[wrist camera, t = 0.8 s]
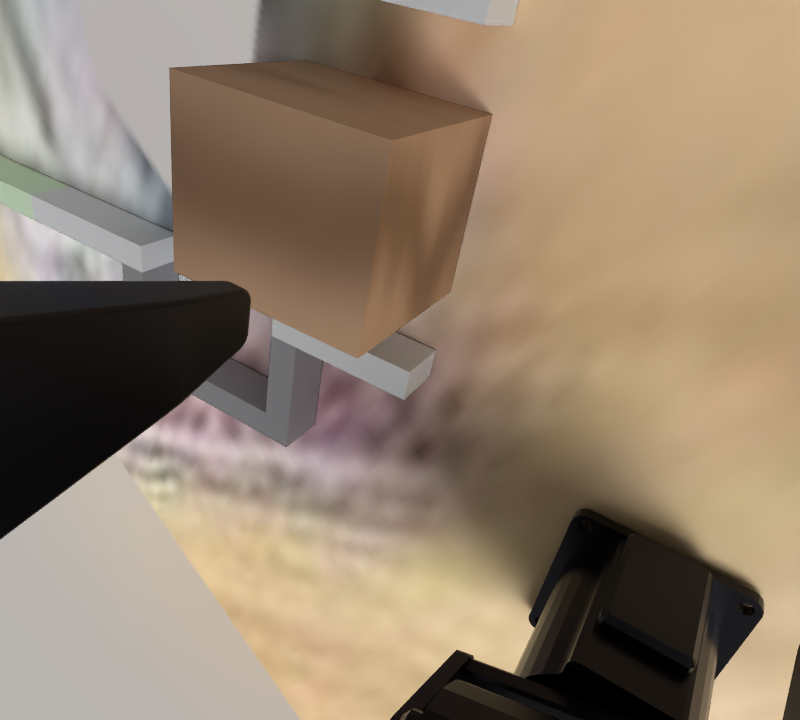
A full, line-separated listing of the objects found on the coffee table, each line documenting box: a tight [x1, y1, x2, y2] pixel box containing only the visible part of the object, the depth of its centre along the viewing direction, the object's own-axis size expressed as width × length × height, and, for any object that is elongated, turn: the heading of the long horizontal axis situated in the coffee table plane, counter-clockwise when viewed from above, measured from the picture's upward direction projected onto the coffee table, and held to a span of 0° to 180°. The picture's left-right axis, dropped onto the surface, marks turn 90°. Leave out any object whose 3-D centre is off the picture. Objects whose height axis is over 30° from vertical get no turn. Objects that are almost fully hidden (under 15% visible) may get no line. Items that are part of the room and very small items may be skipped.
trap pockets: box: [122, 261, 323, 447], centre depth 24 cm, size 23×14×2 cm, turn 168°
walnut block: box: [169, 60, 492, 359], centre depth 20 cm, size 6×7×6 cm
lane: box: [31, 0, 519, 400], centre depth 23 cm, size 13×20×2 cm, turn 78°
